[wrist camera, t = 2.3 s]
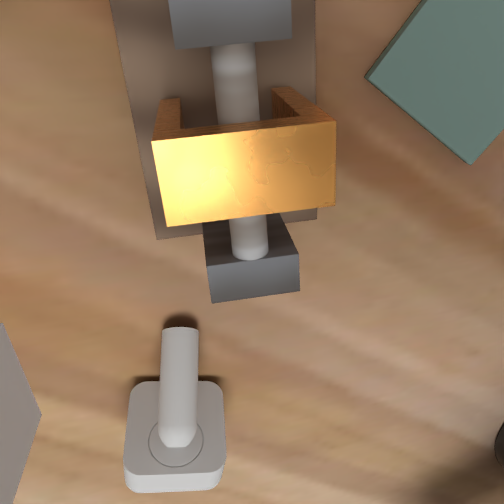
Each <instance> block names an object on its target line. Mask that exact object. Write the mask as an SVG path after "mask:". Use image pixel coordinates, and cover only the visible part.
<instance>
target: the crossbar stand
mask: <svg viewBox="0 0 504 504" xmlns="http://www.w3.org/2000/svg"><path fill="white" fill-rule="evenodd" d="M109 1H110V6H111V11H112V16H113V21H114V26H115V31H116V36H117V41H118V46H119V51H120V56H121V61H122V66H123V71H124V77H125V82H126V87H127V92H128V97H129V102H130V107H131V112H132V117H133V122H134V127H135V132H136V137H137V142H138V147H139V152H140V157H141V162H142V167H143V172H144V177H145V183H146V188H147V193H148V198H149V203H150V208H151V213H152V218H153V223H154V228H155V233H156V238H157V240H159V239H167V238H175V237H183V236H190V235H198V234H203V237H204V247H205V257H206V267H207V274H208V281H209V288H210V295H211V302H212V303H219V302H226V301H233V300H240V299H247V298H254V297H261V296H268V295H275V294H282V293H289V292H297V291H300V277H299V253H298V251H297V249H296V247H295V245H294V243H293V241H292V239H291V236H290V234H289V232H288V230H287V228H286V226H285V224H284V223H291V222H299V221H307V220H315V219H317V208H312V209H304V210H296V211H289V212H281V213H273V214H265V215H257V216H249V217H241V218H233V219H226V220H218V221H210V222H202V223H194V224H186V225H178V226H170V227H167V224H166V218H165V213H164V207H163V202H162V196H161V191H160V185H159V180H158V175H157V169H156V164H155V158H154V153H153V147H152V142H151V141H152V136H153V132H154V127H155V122H156V117H157V112H158V107H159V102H160V100H163V99H173V98H180V101H181V108H182V115H183V122H184V129H187V128H197V127H206V126H215V125H224V124H233V123H242V122H251V121H260V120H270V119H273V114H272V95H271V88H279V87H288V86H291V87H292V88H293V89H295V90H296V91H297V92H299V93H300V94H301V95H303V96H304V97H305V98H307V99H308V100H309V101H310V102H312V103H313V104H314V105H316V51H315V0H109Z"/></svg>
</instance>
